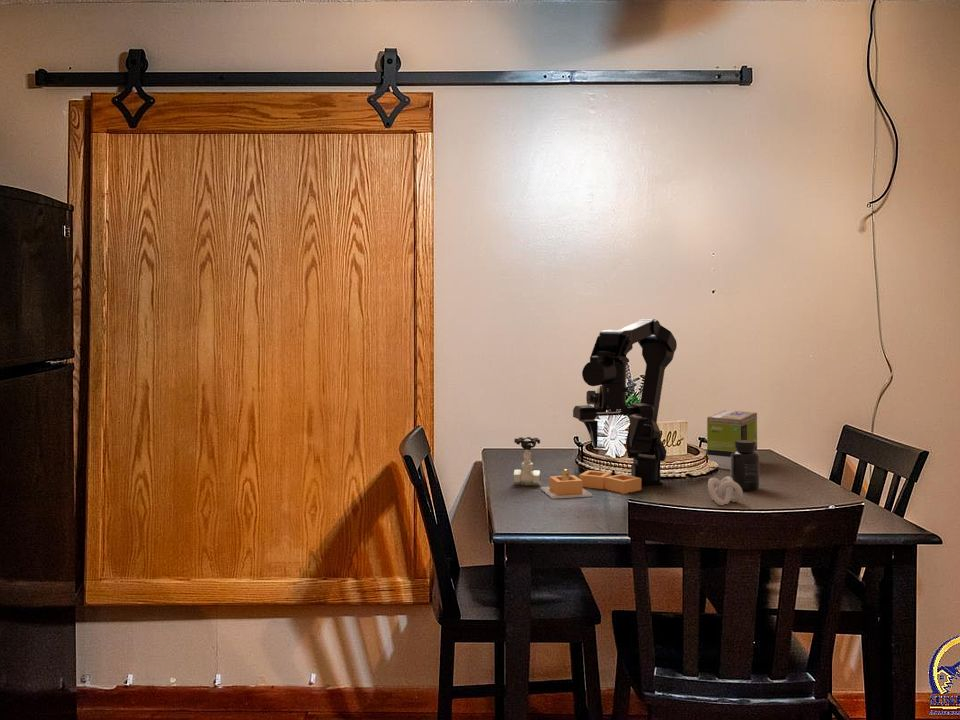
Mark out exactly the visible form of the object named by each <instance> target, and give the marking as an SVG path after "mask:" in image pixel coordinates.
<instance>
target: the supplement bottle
mask: <svg viewBox="0 0 960 720" xmlns="http://www.w3.org/2000/svg"><path fill="white" fill-rule="evenodd" d="M735 449H736V450H735V451H734V452H732V454H731V470H730V477H731V478H732V479H733V481H734V482H736V483H738V484H739V485H740V487H741V488H742V491H743V492H755V491H758V490H759V488H760V454H759V453H758V451H757V452H755V451H754V449H755V441H751V440H736V441H735ZM733 490H735V489H734V488H733Z"/></svg>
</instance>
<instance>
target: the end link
mask: <svg viewBox="0 0 960 720" xmlns="http://www.w3.org/2000/svg"><path fill="white" fill-rule="evenodd" d="M548 485H549V486H548V487H549V488H550V489H551V490H552V491H554V492H555V493H556V494H571V493H582V488H583V487H582V486H583V481H582V480H581V479H579V477H578V476H576V475H574V474H571V475H570V474H569V480H564V481H562V475H552V476H551V475H550V476H549V484H548Z"/></svg>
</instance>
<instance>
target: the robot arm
mask: <svg viewBox="0 0 960 720" xmlns="http://www.w3.org/2000/svg"><path fill="white" fill-rule="evenodd" d="M637 343H638V345H639V347H640V348H641V356H642V357H643V360H644V362H645V364H646V365H645V371H644V378H643V383H642V390H641V397H640V402H639V403H631V404H630V405H629V406H628V404H627V403H626V401H627V399H626V397H627V393H629V387H627V364H628V363H629V362H630V359H629V358H628V357H627V355H628V354H629V352H631V351H632V350H633V348H634V347H633V345H634V344H637ZM676 350H677V339H676V338H675V336H674V335H673V333H672V331H670V330H669V329H668V328H666V327H664V326H663V325H661V323H660V321H659V320H657V319H655V318H649V319H648V318H640V319H638V320H637V321H636V322H633V323H631V324H629V325H627V326H624V327H622V328H620V329H602V330H601V331H600V332H599V335H597V338H596V340H595V343H594V346H593V348H592V351H591V353H590V354H591V355H590V357H589V362H586V364H585V365H584V366H583V368H582V373H581V376H582V379H583V381H584V383H585V384H586V385H588V386H589V387H590V386H591V387H597V386H599V391H598V392H596V390H588V391H586V395H585V396H586V397H585V399H586V405H575V406H574V407H573V410H572V417H573V418H574V419H578V422H581V423H583V424H584V425H585V428H586V430H587V432H588V435H589V438H590V441H591V444H592V446H593V448H594V449H597V447H598V441H599V440H598V434H599V433H598V431H599V430H598V426H599V425H598V420H596V417H601V416H603V417H604V416H605V417H606V416H628V418H629V419H628V420H629V425H628V429H627V430H628V431H627V436H626V437H625V439H626V440H625V447H626V452H627V458H628V459H632V460H633V461H632V462H633V463H632V464H631V467H630V469H631V472H630V473H631V474H630V476H634V477H638V478H641V486H644V485H645V486H649V485H661V484H664V481H663V480H661V462H664V461H665V460H666V458H667V449H666V447H665V445H664V443H663V442H662V440H661V438H662V432H661V429H660V427H659V425H658V415H659V411H660V410H659V408H660V403H661V395H662V391H663V390H662V389H663V383H664V375H665V369H666V368H667V367H668V366H669V365H670V363H672V361H673V359H674V356H675V352H676ZM592 405H593V406H592Z"/></svg>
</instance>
